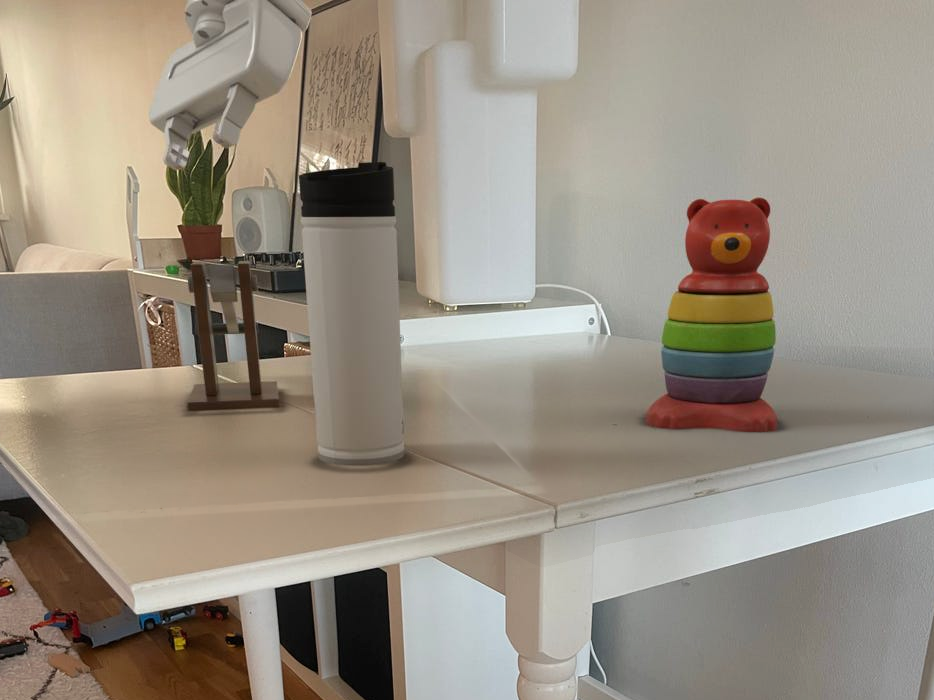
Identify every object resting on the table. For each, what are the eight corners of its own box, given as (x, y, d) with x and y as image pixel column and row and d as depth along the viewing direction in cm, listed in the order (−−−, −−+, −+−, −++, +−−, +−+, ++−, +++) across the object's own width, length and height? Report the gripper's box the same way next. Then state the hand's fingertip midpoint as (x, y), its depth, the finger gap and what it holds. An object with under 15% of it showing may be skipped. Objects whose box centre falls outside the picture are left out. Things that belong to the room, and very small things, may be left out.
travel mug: (424, 460, 72) (415, 161, 64) (370, 480, 67) (354, 157, 59) (357, 450, 75) (340, 163, 67) (301, 468, 70) (276, 160, 62)
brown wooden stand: (195, 399, 96) (178, 260, 90) (278, 396, 97) (266, 259, 92) (189, 419, 87) (169, 266, 81) (280, 415, 88) (266, 264, 83)
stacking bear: (643, 431, 81) (659, 197, 74) (651, 408, 90) (665, 198, 83) (777, 436, 79) (807, 196, 72) (771, 413, 88) (797, 197, 81)
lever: (210, 342, 101) (208, 319, 101) (259, 340, 102) (257, 317, 102) (194, 293, 86) (191, 265, 85) (251, 291, 86) (249, 264, 86)
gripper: (153, 31, 97) (117, 160, 97) (266, -43, 83) (225, 107, 82) (208, 71, 102) (174, 194, 101) (323, 7, 88) (285, 149, 87)
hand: (197, 154), depth 92 cm, fingers open, 8 cm apart
